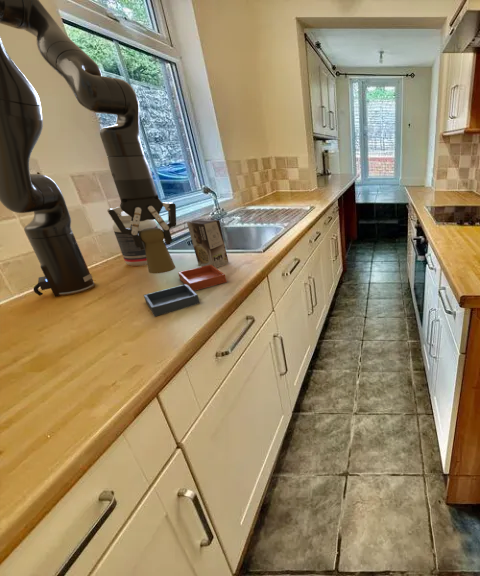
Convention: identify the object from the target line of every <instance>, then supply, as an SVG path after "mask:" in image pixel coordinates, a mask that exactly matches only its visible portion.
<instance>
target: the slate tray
mask: <svg viewBox="0 0 480 576" xmlns="http://www.w3.org/2000/svg"><path fill="white" fill-rule="evenodd" d="M143 298H144V301H145V303H146V305H147V307H148V308H149V310H150V312H151V313H152V315H153V316H154V317H159V316H161V315H162V316H163V315H166V314H169V313H172V312H176V311H178V310H183V309H185V308H189V307H193V306H196V305H199V304H200V303H201V301H200V298H199V294H197V293H196V292H195V291H193V290H192V289H191V288H190V287H189V286H188V285H187V284H184V283H183V284H181V285H177V286H173V287H169V288H165V289H161V290H158V291H153V292H150V293H146V294H143Z"/></svg>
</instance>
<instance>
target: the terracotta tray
mask: <svg viewBox="0 0 480 576" xmlns="http://www.w3.org/2000/svg"><path fill="white" fill-rule="evenodd" d="M177 274H178V278H179V280H180V281H181V282H182V283H183V285H184V284H187V285H188V286H189V287H190V288H191V289H192V290H193V291H194V292H195V291H198V290H202V289H206V288H210V287H213V286H217V285H221V284H224V283H227V282H228V281H227V277H226V274H225V273H224V272H223V271H221V270H220V269H218V268H215V267H214V266H213V265H207V266H199V267H195V268H189V269H186V270H181V271H177Z"/></svg>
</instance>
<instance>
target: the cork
mask: <svg viewBox="0 0 480 576" xmlns="http://www.w3.org/2000/svg"><path fill="white" fill-rule="evenodd" d="M162 230H163V229H162V228H159V227H158V228H146V229H143V230H141V231H140V232H139V235H140V238H141V241H142V242H144V245H145V252H146V258H147V264H148V265H147V269H148V273H149V274H154V275H156V274H157V275H158V274H164V273H168V272H171V271H174V270H175V269H176V265H175V262H174V260H173V259H172V256H171V254H170V252H169V250H168V247H167V244H166V243H165V240H164V233H163V231H162Z"/></svg>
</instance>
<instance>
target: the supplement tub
mask: <svg viewBox="0 0 480 576" xmlns="http://www.w3.org/2000/svg"><path fill="white" fill-rule="evenodd" d="M119 218H120V220H121V221H122V223H123V225H124V226H125V228H130V225H131V223H130V222H131V216H129V215H128V214H127V213H125V212H124V211H122V212H121V217H119ZM111 221H113V219H112V218H111ZM146 228H159V227H158V222H157V221H156V220H155V219H154V220H145V221H140V223H139V227H138V234H139V232H140V231H141V230H143V229H146ZM112 231H113V232H114V235H115V238H116V241H117V244H118V247H119V249H120V252H121V254H122V257H123V260H124V263H125V264H126V265H129V266H130V267H144V266H148V264H147V258H146V252H145V245H144V242H142V244H143V247H144V249H142V250H141V249H140V248H137V247H136V246H135V244H134V241H133V238H132V235H130V234H123V233H122V232H121V231H120V230H119V228H118V227H117V225H116V224H115V222H113V223H112Z"/></svg>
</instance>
